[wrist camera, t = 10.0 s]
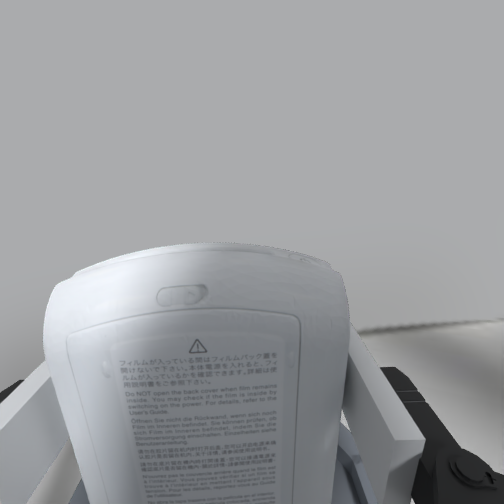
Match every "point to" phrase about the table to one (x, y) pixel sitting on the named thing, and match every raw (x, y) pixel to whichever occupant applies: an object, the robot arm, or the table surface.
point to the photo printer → (202, 374)
